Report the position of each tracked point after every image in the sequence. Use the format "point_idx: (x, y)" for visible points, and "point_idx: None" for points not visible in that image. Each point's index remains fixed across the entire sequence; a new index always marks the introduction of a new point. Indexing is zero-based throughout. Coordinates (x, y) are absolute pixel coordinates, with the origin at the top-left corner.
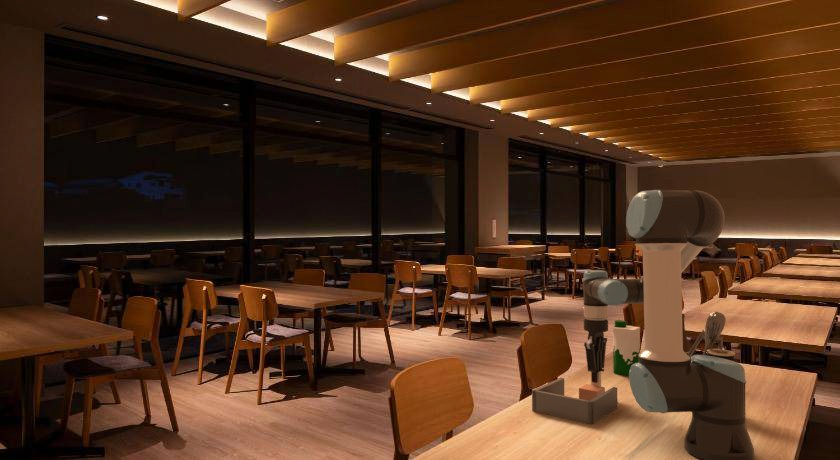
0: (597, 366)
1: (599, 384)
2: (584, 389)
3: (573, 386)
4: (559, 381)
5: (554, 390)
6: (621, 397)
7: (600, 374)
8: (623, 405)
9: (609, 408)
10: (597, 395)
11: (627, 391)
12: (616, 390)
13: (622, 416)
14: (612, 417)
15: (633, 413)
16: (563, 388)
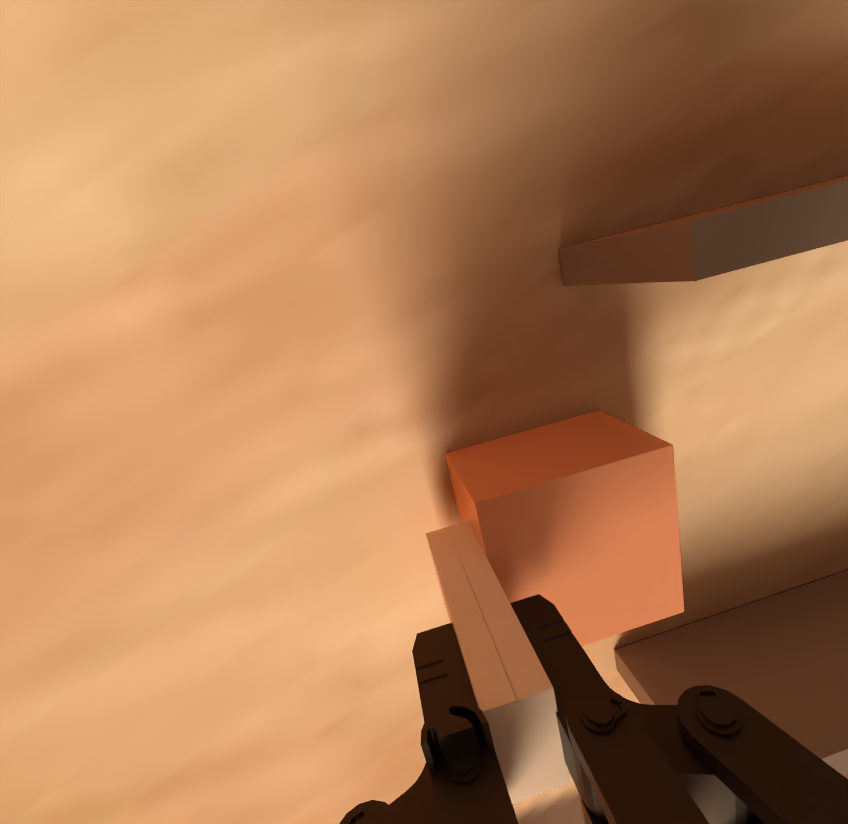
0: (679, 797)
1: (489, 571)
2: (680, 562)
3: (334, 800)
4: (812, 749)
5: (838, 664)
6: (252, 418)
7: (493, 672)
8: (459, 252)
9: (763, 197)
10: (640, 433)
11: (11, 512)
12: (696, 218)
13: (748, 62)
14: (821, 111)
15: (607, 34)
16: (672, 701)
